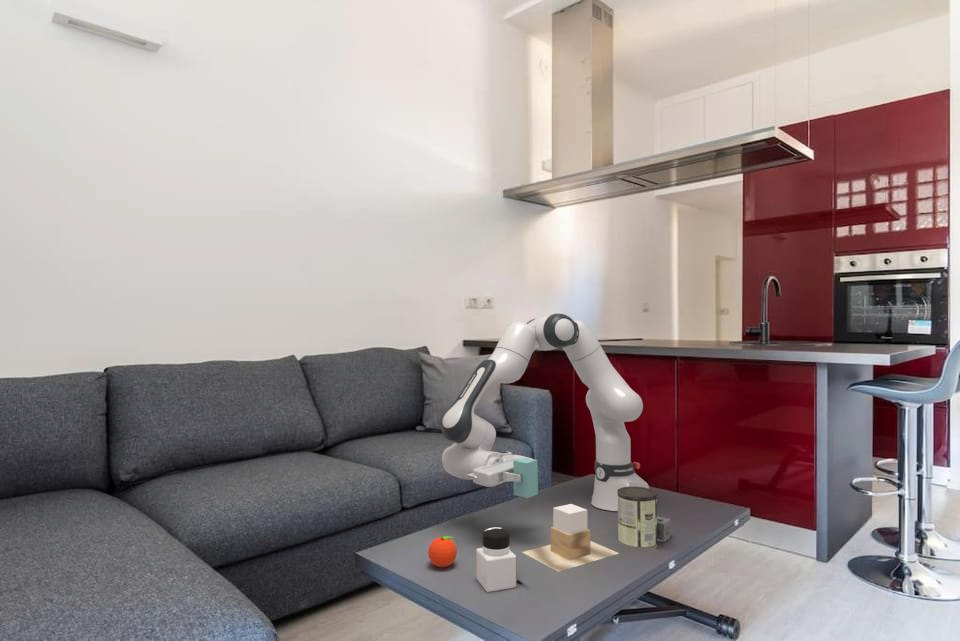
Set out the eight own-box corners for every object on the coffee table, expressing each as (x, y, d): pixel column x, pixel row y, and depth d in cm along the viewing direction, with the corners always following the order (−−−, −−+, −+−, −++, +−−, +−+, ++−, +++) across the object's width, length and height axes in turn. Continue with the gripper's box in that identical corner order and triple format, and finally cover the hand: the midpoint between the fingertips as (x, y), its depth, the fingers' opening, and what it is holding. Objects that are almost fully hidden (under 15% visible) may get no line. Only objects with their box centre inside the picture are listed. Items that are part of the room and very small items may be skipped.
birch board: (580, 541, 155) (580, 536, 155) (619, 558, 143) (619, 553, 143) (521, 556, 144) (521, 552, 144) (558, 576, 132) (558, 571, 132)
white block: (571, 523, 148) (571, 503, 148) (587, 529, 143) (587, 509, 143) (553, 527, 144) (553, 507, 145) (569, 534, 139) (569, 514, 140)
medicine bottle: (516, 587, 127) (516, 533, 127) (486, 592, 124) (486, 537, 124) (504, 574, 133) (504, 523, 134) (476, 579, 131) (476, 526, 131)
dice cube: (663, 542, 154) (663, 524, 154) (646, 538, 157) (646, 520, 157) (670, 537, 157) (670, 519, 158) (653, 533, 161) (653, 515, 161)
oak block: (571, 545, 148) (571, 522, 148) (590, 554, 142) (590, 530, 142) (550, 551, 144) (550, 527, 145) (569, 560, 139) (569, 535, 139)
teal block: (524, 491, 153) (523, 457, 153) (537, 494, 150) (537, 459, 150) (513, 495, 150) (513, 460, 150) (527, 498, 147) (526, 463, 147)
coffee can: (628, 534, 160) (628, 484, 160) (664, 543, 153) (663, 491, 153) (610, 545, 152) (610, 491, 152) (646, 555, 145) (646, 499, 145)
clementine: (451, 557, 144) (451, 528, 144) (465, 566, 138) (465, 537, 138) (423, 564, 139) (423, 535, 139) (437, 574, 134) (437, 544, 134)
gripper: (462, 463, 151) (502, 471, 142) (511, 450, 166) (550, 456, 157) (462, 487, 151) (503, 497, 141) (511, 471, 166) (550, 479, 157)
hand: (528, 475), depth 149 cm, fingers closed on teal block, 4 cm apart
